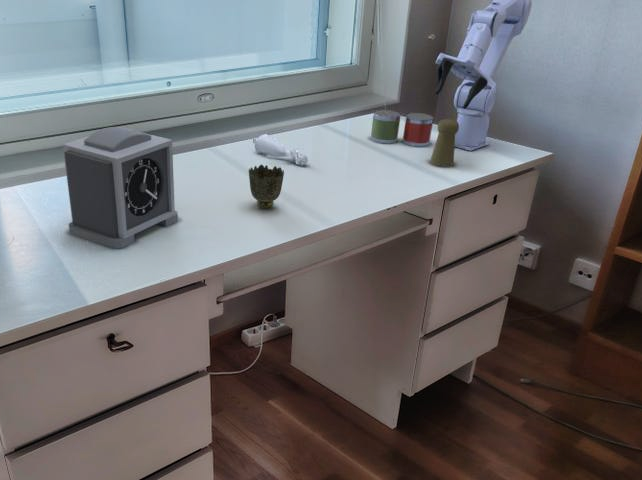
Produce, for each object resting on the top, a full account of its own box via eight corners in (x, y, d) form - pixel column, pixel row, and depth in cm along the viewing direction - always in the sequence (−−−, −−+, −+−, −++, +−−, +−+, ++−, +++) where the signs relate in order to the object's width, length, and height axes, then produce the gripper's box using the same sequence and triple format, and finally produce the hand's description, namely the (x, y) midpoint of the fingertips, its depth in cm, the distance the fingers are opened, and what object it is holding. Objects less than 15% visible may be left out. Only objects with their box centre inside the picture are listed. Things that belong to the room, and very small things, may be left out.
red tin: (406, 137, 197) (410, 111, 193) (432, 141, 194) (436, 115, 190) (399, 143, 191) (403, 117, 187) (425, 148, 189) (429, 121, 185)
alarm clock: (118, 250, 126) (109, 150, 116) (66, 232, 132) (53, 136, 121) (180, 219, 139) (177, 128, 129) (131, 204, 145) (124, 115, 135)
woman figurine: (272, 127, 182) (323, 148, 173) (271, 144, 185) (320, 165, 175) (240, 135, 175) (291, 157, 165) (239, 152, 178) (289, 175, 168)
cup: (286, 203, 149) (288, 167, 145) (275, 215, 143) (277, 177, 139) (254, 198, 151) (255, 162, 147) (242, 209, 145) (243, 172, 141)
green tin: (392, 135, 198) (395, 110, 194) (400, 143, 191) (404, 117, 187) (367, 135, 196) (370, 110, 192) (374, 143, 190) (378, 117, 186)
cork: (455, 167, 175) (464, 123, 169) (432, 166, 175) (439, 122, 169) (450, 160, 180) (459, 117, 174) (428, 159, 180) (435, 116, 174)
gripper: (452, 30, 165) (432, 77, 163) (504, 58, 166) (485, 105, 164) (440, 46, 172) (421, 91, 170) (490, 73, 173) (472, 118, 171)
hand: (451, 99), depth 167 cm, fingers open, 7 cm apart
